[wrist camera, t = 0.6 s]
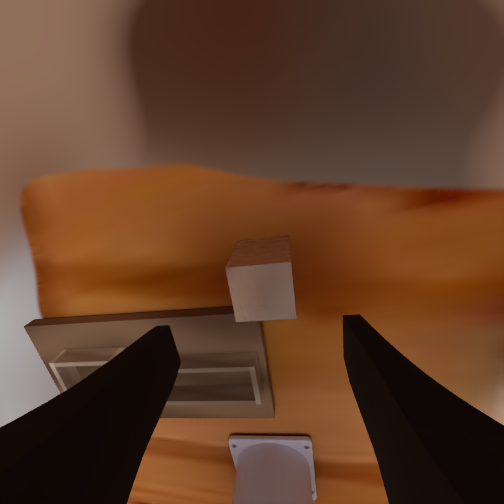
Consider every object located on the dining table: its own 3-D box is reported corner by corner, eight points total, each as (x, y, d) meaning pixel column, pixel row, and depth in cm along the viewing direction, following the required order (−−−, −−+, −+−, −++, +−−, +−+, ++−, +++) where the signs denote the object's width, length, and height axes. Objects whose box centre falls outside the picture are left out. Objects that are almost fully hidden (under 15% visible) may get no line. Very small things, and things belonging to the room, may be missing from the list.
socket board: (274, 407, 23) (274, 435, 21) (81, 408, 26) (62, 433, 24) (258, 304, 20) (255, 325, 17) (34, 319, 23) (6, 338, 20)
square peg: (293, 281, 19) (296, 318, 14) (245, 284, 19) (235, 322, 15) (288, 235, 17) (290, 262, 13) (238, 240, 18) (225, 267, 14)
